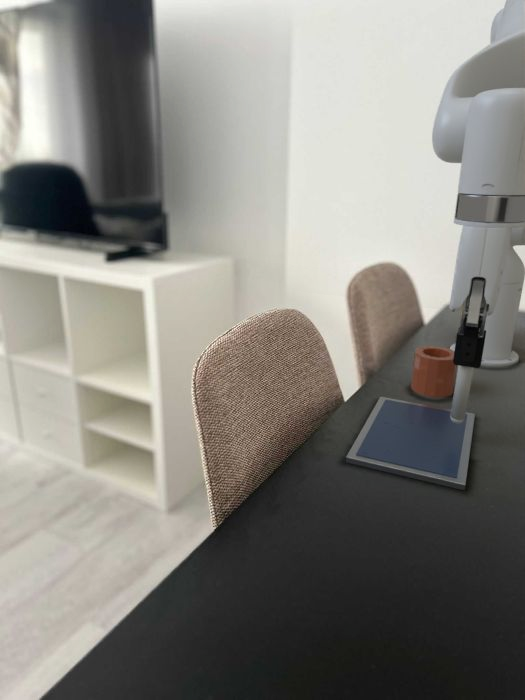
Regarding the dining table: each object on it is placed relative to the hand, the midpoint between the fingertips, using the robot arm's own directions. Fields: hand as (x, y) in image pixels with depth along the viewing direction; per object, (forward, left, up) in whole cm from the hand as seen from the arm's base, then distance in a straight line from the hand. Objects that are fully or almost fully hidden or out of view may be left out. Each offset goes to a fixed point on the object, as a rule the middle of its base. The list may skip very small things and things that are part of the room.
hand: (467, 361), depth 64 cm
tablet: (0, -5, -12) cm, 13 cm away
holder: (-17, -5, -12) cm, 21 cm away
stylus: (0, 0, -9) cm, 9 cm away
